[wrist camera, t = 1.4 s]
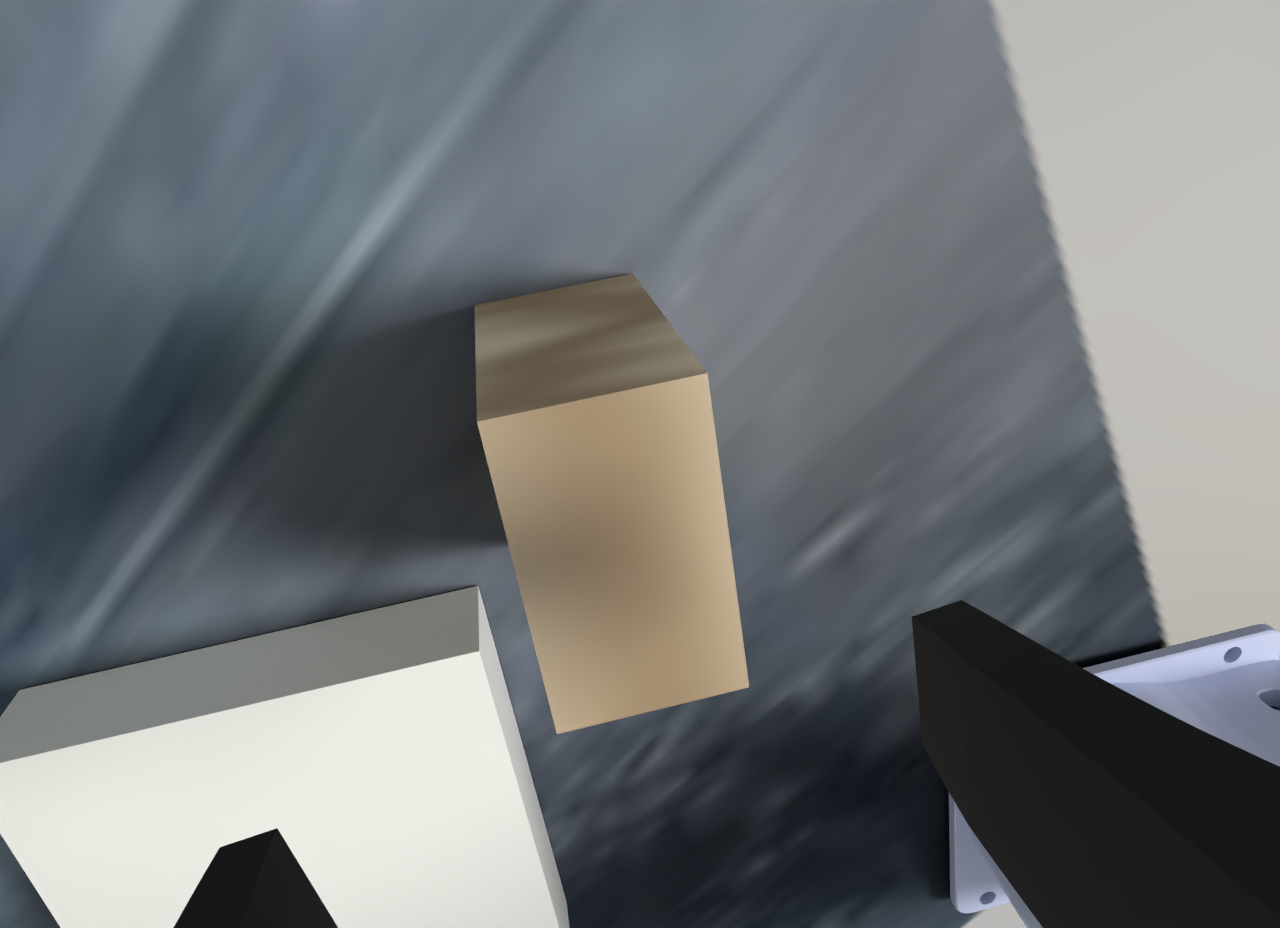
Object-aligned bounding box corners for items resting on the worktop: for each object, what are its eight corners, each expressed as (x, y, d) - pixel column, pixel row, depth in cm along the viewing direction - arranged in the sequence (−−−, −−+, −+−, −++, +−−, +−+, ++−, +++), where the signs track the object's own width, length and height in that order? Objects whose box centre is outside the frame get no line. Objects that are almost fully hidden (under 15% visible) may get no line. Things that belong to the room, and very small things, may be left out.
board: (477, 585, 20) (479, 651, 18) (566, 901, 25) (575, 985, 23) (20, 689, 20) (-40, 772, 17) (196, 997, 24) (168, 1095, 22)
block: (632, 273, 18) (706, 373, 12) (670, 511, 21) (748, 687, 15) (474, 304, 18) (476, 422, 12) (532, 542, 20) (557, 734, 15)
